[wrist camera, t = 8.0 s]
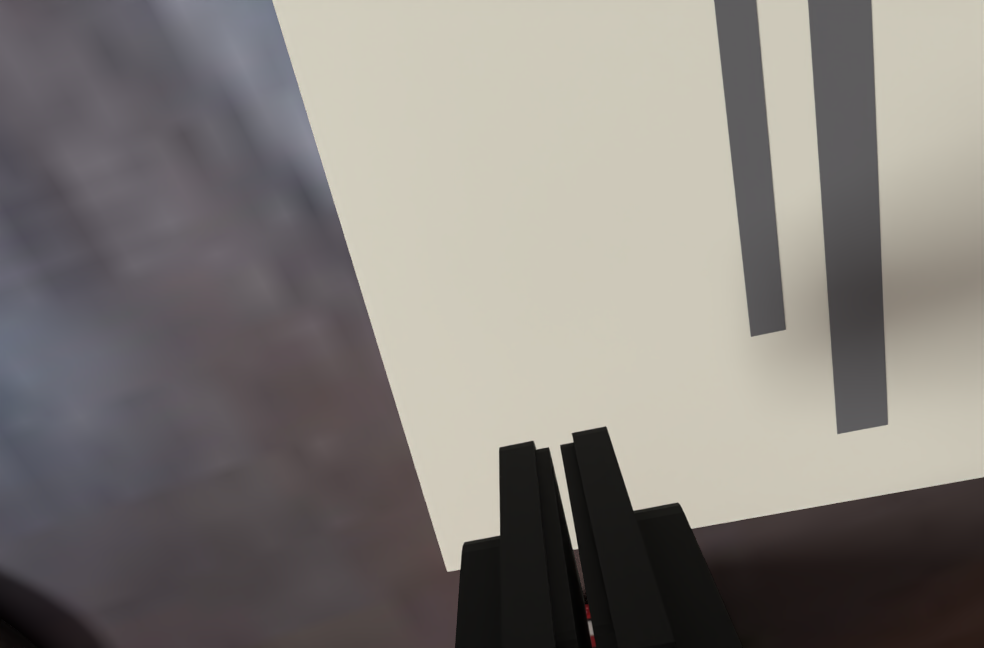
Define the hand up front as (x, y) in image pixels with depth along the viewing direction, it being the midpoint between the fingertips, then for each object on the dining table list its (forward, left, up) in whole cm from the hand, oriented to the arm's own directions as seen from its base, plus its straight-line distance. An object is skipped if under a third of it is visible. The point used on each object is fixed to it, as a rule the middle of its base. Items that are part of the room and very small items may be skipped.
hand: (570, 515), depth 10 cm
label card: (-3, +3, -6) cm, 7 cm away
